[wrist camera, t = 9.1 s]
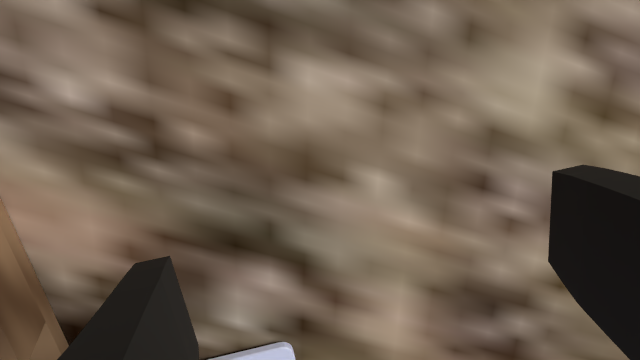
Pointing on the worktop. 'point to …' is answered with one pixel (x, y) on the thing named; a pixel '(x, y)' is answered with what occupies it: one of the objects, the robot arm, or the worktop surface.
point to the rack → (24, 304)
